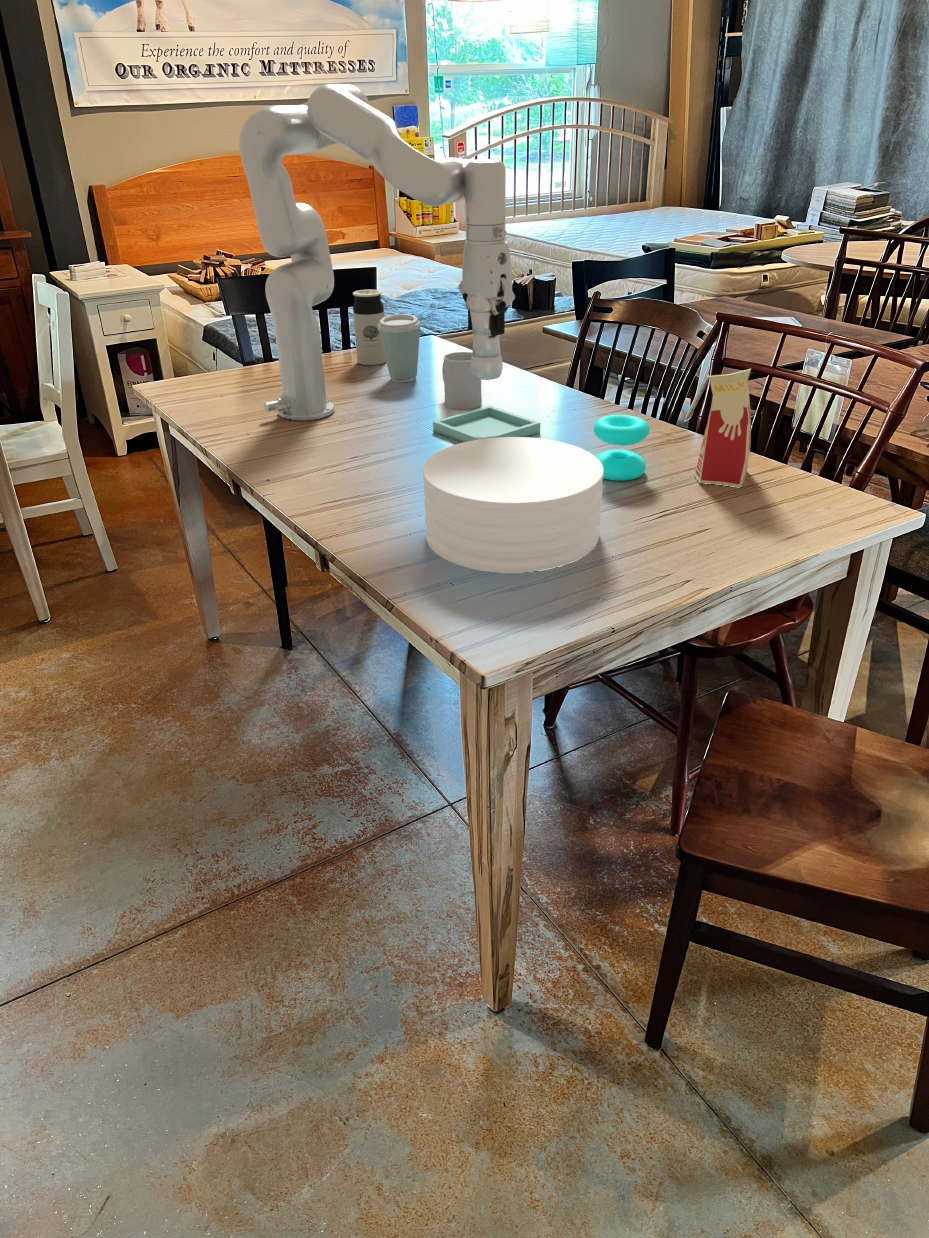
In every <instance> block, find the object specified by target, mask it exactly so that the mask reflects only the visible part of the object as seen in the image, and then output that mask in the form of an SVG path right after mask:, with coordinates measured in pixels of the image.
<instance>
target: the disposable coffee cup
mask: <svg viewBox="0 0 929 1238" xmlns="http://www.w3.org/2000/svg"><path fill="white" fill-rule="evenodd" d="M421 328H422V326H421V322H420V321H419V319H418V317H417V315H412V314H410V313H397V314H389V315H386V316H384V317H383V318H382V319H381V320H380V321H379V324H378V328H377V329H378V330H379V332H380V336H381V341H382V345H383V349H384V354H385V358H386V362H385V363H386V366H387V369H388V375H389V378H390V379H391V382H395V383H411V382H412V381H415V380H416V379H417V376H418V366H419V365H418V364H419V363H418V362H419V351H420V348H419V347H420V335H421V334H420V333H421Z"/></svg>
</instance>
